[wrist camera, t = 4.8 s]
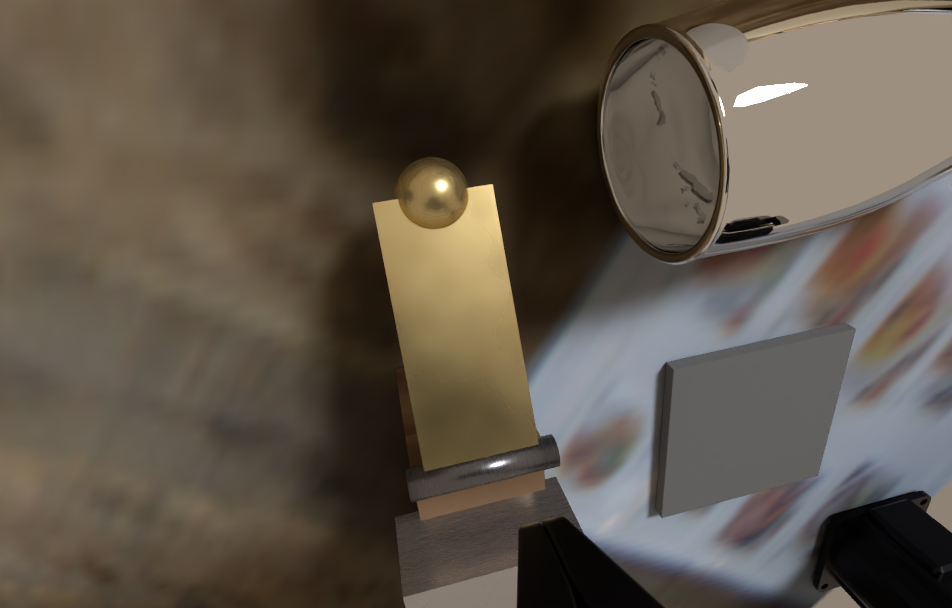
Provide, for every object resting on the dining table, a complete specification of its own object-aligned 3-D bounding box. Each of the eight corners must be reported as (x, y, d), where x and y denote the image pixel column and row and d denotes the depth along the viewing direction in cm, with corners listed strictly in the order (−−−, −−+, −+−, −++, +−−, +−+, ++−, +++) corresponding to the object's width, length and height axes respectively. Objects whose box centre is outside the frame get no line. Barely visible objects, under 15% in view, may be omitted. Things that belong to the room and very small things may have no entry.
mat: (808, 467, 28) (817, 475, 28) (655, 508, 27) (661, 517, 26) (844, 322, 24) (855, 328, 24) (666, 362, 23) (673, 369, 22)
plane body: (516, 552, 26) (555, 669, 21) (437, 574, 25) (459, 699, 20) (495, 348, 21) (542, 441, 16) (395, 369, 20) (410, 472, 15)
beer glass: (1089, 195, 17) (687, 320, 15) (915, 96, 22) (584, 183, 20) (1339, -45, 12) (776, 94, 10) (1043, -112, 16) (607, -25, 14)
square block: (560, 585, 21) (590, 659, 19) (421, 624, 21) (431, 708, 18) (555, 476, 19) (589, 546, 16) (394, 516, 18) (402, 597, 15)
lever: (546, 454, 16) (569, 478, 14) (409, 487, 15) (412, 517, 13) (494, 155, 15) (509, 136, 13) (349, 177, 15) (343, 161, 13)
